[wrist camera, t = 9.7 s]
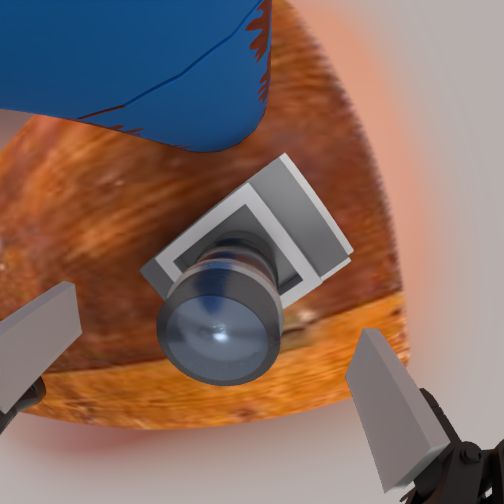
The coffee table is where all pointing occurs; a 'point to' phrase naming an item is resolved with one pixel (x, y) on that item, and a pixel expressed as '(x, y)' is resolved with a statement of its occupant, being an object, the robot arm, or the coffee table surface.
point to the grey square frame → (264, 232)
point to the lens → (224, 313)
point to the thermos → (141, 66)
